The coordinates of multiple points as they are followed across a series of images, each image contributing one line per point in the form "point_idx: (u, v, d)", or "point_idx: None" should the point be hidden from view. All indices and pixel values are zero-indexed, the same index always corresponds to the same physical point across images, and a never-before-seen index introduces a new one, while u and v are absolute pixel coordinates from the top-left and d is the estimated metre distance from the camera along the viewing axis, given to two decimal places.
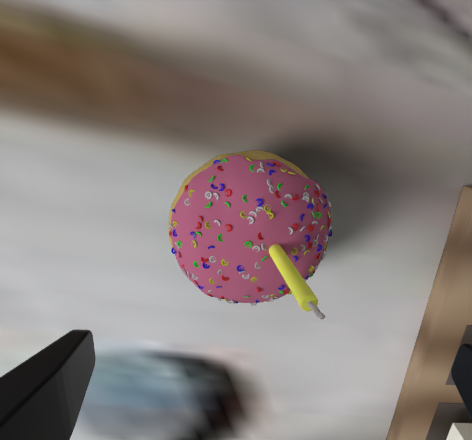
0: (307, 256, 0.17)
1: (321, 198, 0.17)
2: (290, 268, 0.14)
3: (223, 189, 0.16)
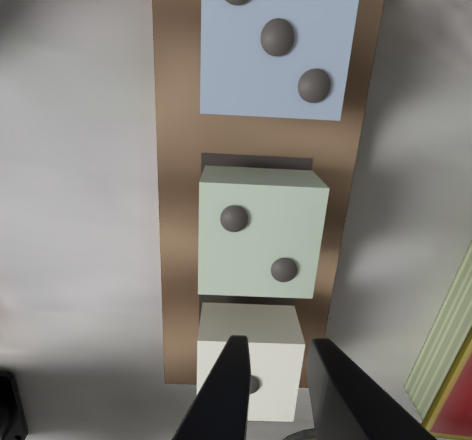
0: None
1: None
2: None
3: None
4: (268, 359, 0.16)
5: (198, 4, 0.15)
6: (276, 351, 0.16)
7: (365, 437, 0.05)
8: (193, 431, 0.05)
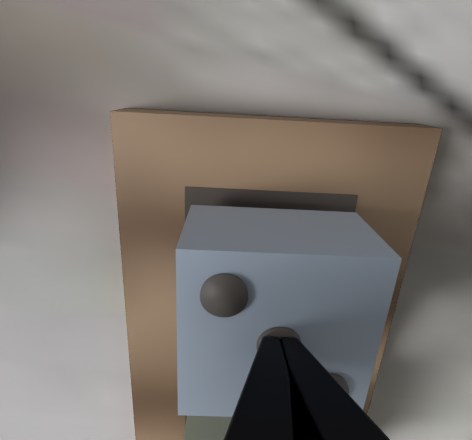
0: None
1: None
2: None
3: None
4: None
5: (178, 218, 0.11)
6: None
7: (317, 436, 0.05)
8: (243, 433, 0.05)
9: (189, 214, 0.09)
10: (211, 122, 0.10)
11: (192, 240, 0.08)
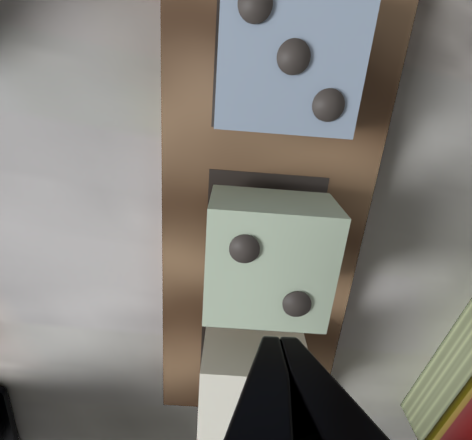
0: None
1: None
2: None
3: None
4: None
5: (211, 9, 0.13)
6: None
7: (317, 436, 0.05)
8: (243, 432, 0.05)
9: None
10: None
11: None
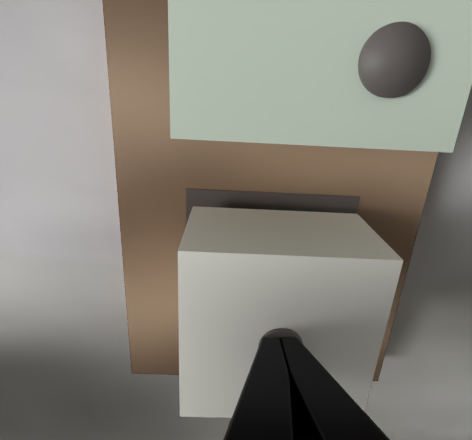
0: None
1: None
2: None
3: None
4: (324, 295, 0.08)
5: None
6: (342, 275, 0.08)
7: (317, 436, 0.05)
8: (243, 432, 0.05)
9: None
10: None
11: None
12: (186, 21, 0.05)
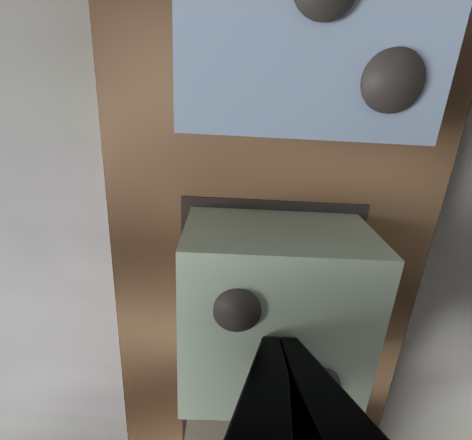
0: None
1: None
2: None
3: None
4: None
5: None
6: None
7: (317, 436, 0.05)
8: (243, 432, 0.05)
9: None
10: None
11: None
12: (188, 367, 0.08)
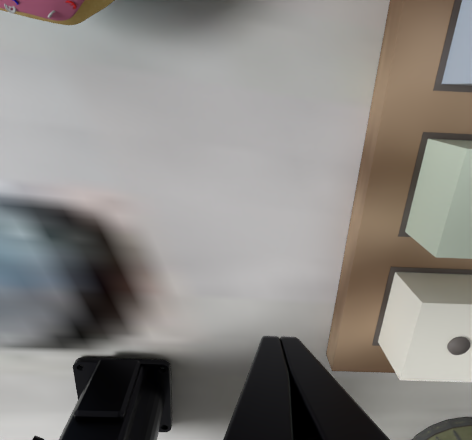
0: None
1: None
2: None
3: None
4: None
5: None
6: None
7: (317, 435, 0.05)
8: (243, 432, 0.05)
9: None
10: None
11: None
12: (452, 221, 0.15)
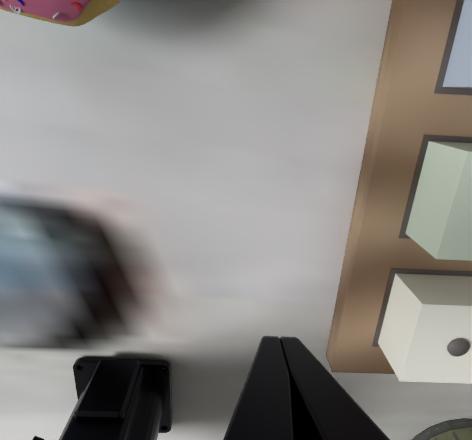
0: None
1: None
2: None
3: None
4: None
5: None
6: None
7: (317, 435, 0.05)
8: (243, 432, 0.05)
9: None
10: None
11: None
12: (452, 223, 0.15)
